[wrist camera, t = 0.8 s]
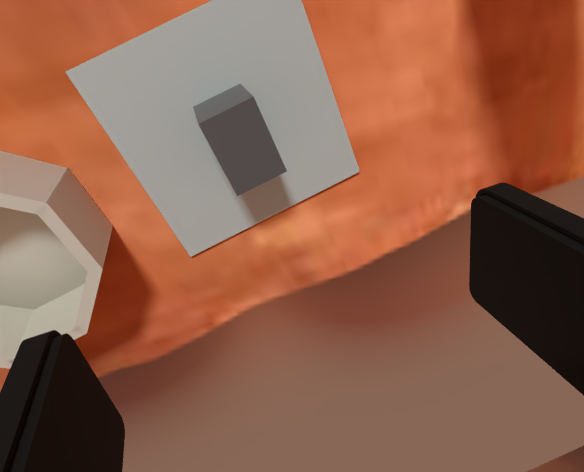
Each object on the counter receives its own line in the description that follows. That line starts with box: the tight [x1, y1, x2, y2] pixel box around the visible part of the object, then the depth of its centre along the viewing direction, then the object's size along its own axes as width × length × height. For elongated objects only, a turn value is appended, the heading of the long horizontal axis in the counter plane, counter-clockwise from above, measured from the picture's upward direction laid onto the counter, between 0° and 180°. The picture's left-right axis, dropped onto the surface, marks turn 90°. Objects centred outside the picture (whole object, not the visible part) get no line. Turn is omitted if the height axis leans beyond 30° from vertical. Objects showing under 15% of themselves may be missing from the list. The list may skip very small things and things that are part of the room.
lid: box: [66, 0, 360, 257], centre depth 28 cm, size 15×15×6 cm
